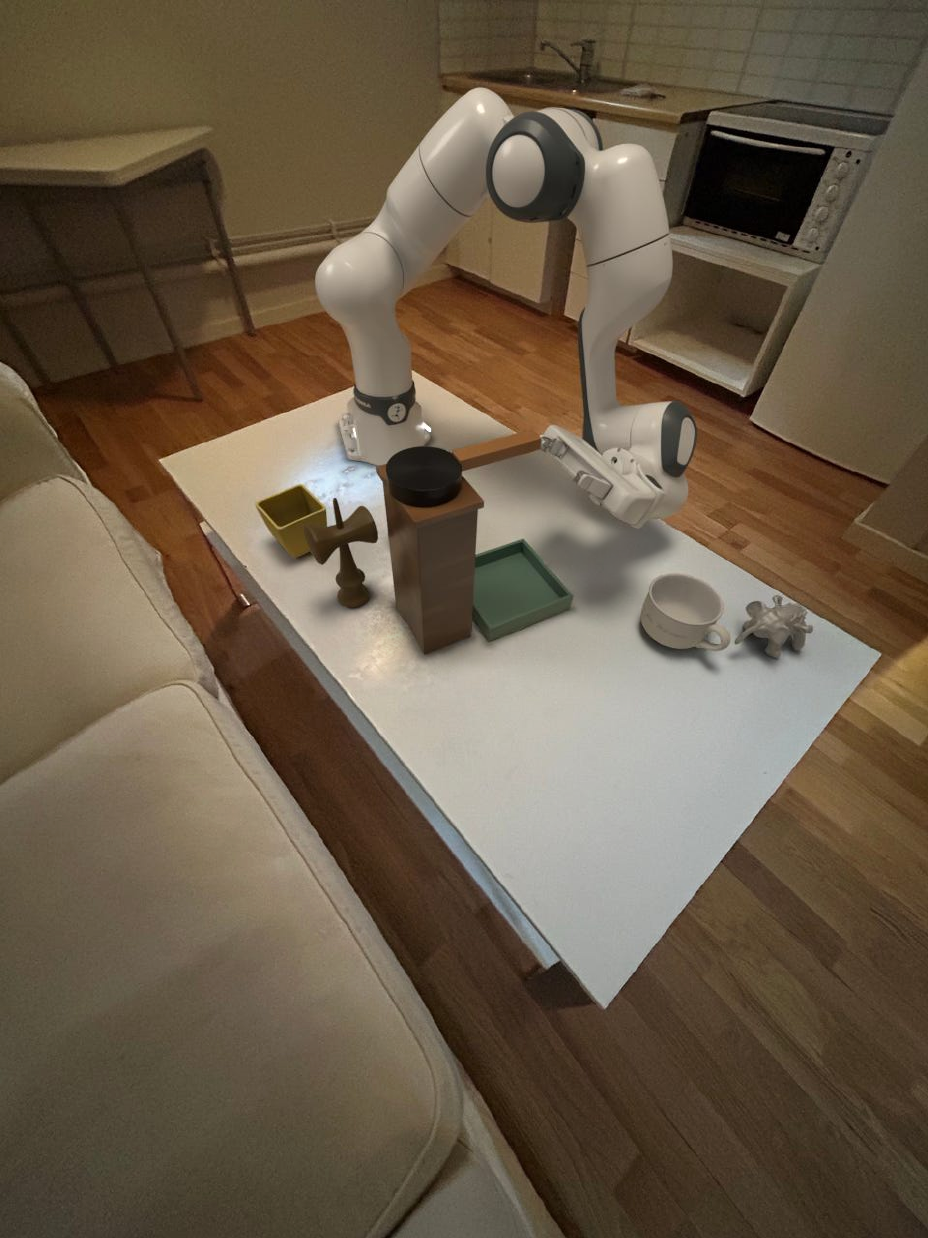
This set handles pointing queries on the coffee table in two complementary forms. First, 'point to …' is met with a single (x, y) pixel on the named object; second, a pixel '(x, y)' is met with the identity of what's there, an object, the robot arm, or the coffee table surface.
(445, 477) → the skillet
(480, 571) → the tray
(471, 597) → the stand
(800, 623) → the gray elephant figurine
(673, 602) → the teacup
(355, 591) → the kendama
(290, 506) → the flower pot
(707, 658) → the coffee table surface
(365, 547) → the coffee table surface
